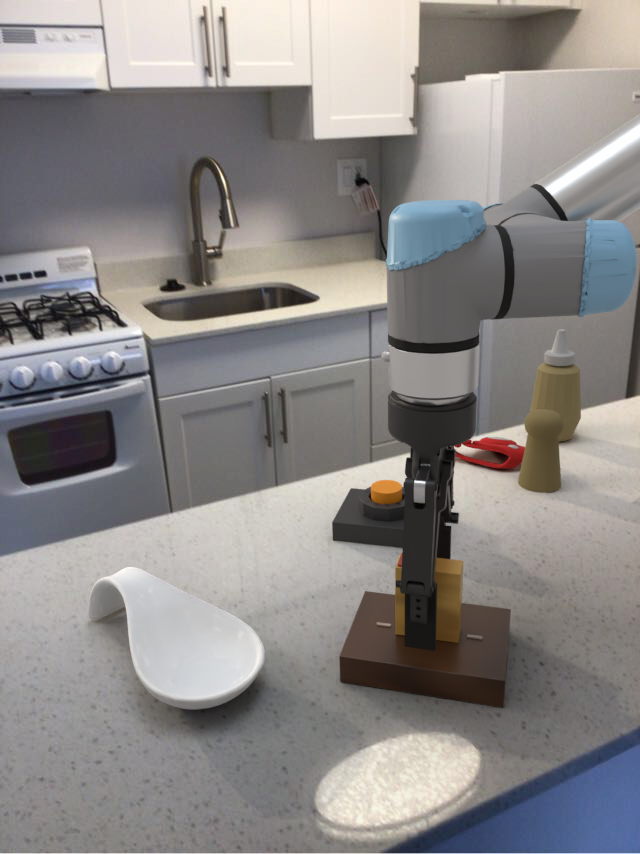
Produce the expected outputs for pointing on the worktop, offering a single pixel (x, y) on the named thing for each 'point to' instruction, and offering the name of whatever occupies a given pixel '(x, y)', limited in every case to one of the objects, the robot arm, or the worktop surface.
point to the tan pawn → (541, 452)
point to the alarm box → (369, 520)
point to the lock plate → (429, 654)
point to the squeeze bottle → (559, 385)
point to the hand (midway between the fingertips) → (428, 612)
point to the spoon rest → (180, 640)
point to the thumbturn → (438, 599)
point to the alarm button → (386, 492)
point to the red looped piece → (496, 445)
